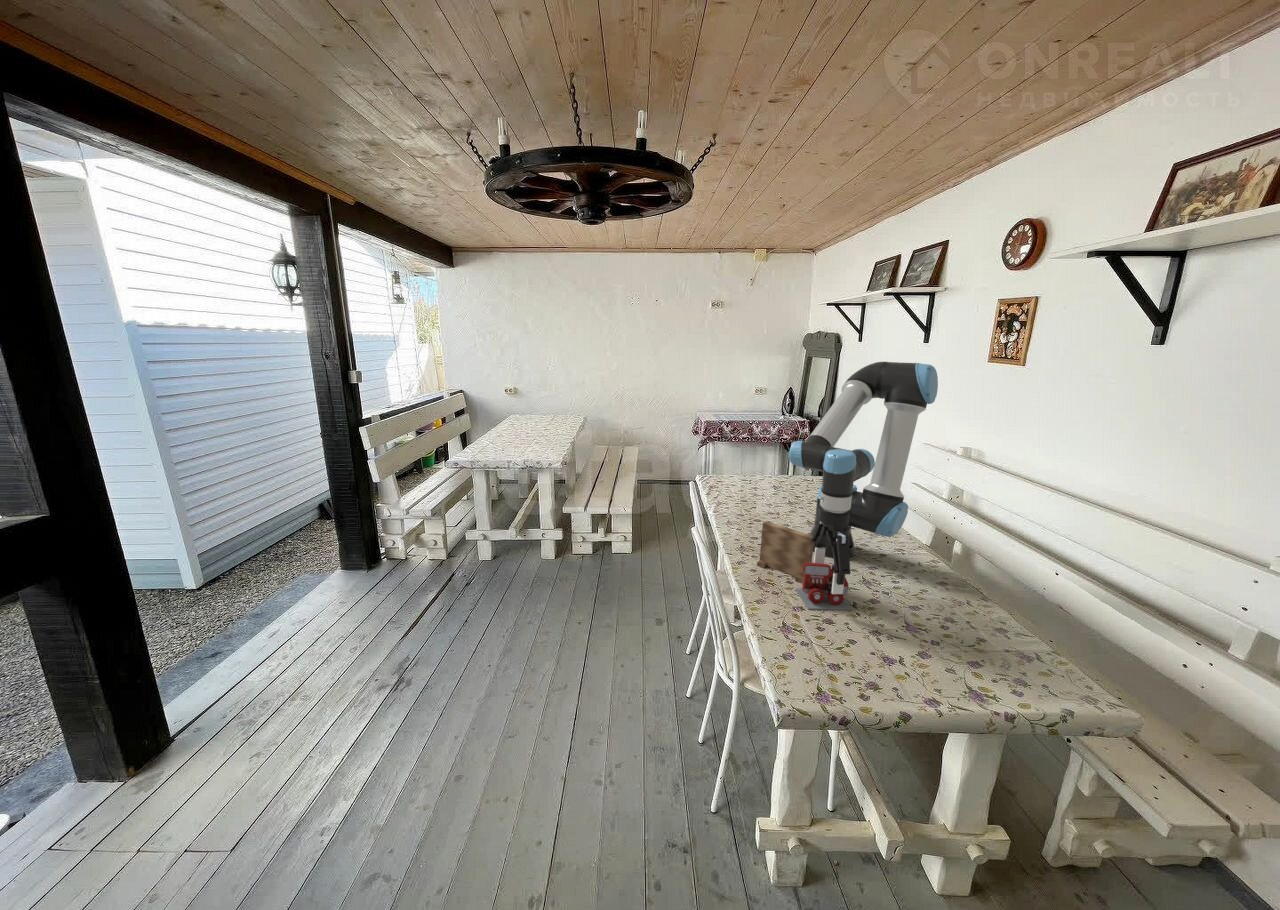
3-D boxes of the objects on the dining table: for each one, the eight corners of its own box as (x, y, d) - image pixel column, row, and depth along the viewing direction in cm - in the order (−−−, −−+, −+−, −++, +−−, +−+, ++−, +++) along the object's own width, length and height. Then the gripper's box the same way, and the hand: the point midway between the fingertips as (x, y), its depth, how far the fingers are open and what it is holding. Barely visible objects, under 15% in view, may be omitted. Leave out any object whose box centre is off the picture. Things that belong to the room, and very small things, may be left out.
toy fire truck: (850, 606, 126) (854, 572, 123) (802, 603, 127) (806, 568, 125) (842, 592, 133) (846, 559, 130) (797, 589, 134) (801, 556, 131)
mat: (836, 589, 135) (836, 588, 135) (852, 609, 125) (852, 608, 125) (795, 589, 135) (795, 588, 135) (807, 609, 125) (807, 608, 125)
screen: (756, 565, 149) (759, 524, 145) (765, 558, 153) (769, 519, 149) (803, 583, 138) (808, 540, 134) (812, 576, 142) (817, 534, 138)
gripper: (804, 492, 135) (798, 559, 140) (840, 527, 111) (831, 606, 117) (830, 491, 135) (823, 558, 140) (871, 527, 111) (861, 605, 117)
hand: (827, 580), depth 129 cm, fingers open, 12 cm apart
